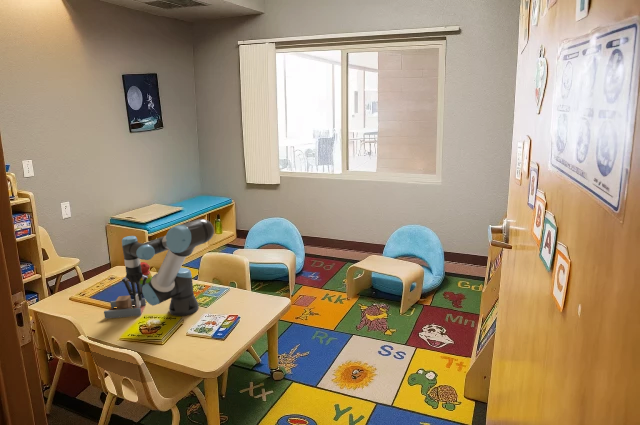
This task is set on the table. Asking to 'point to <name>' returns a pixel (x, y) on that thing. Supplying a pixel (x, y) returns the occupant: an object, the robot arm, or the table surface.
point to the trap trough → (125, 310)
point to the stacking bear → (145, 273)
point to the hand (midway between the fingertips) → (138, 305)
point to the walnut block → (123, 302)
